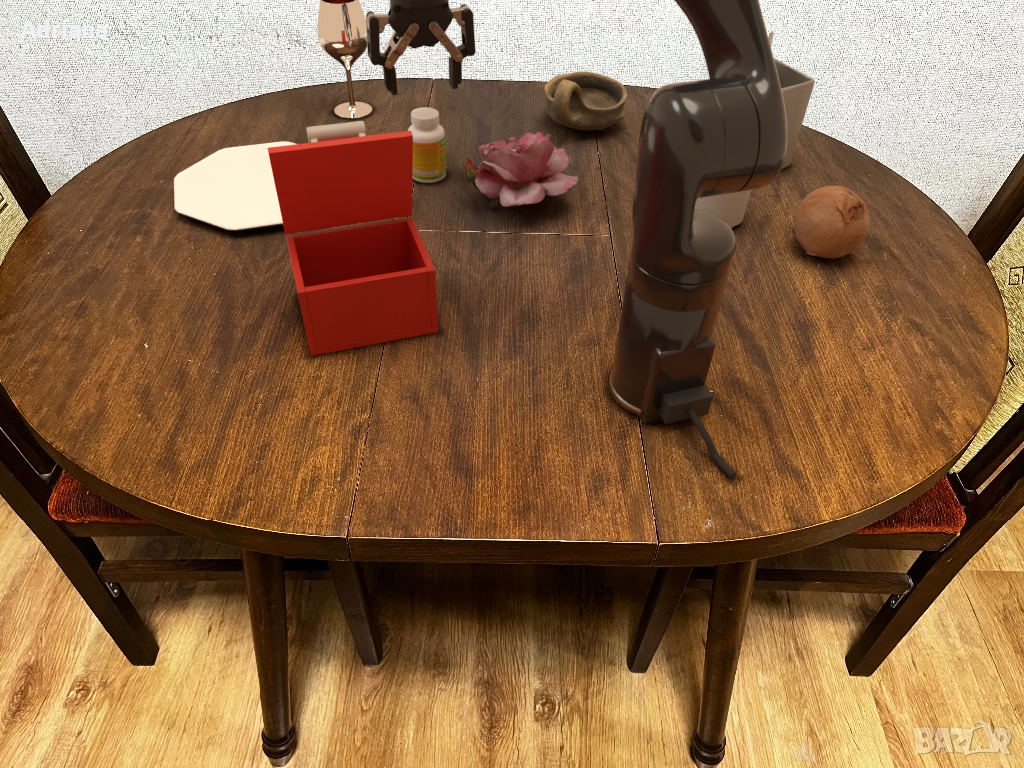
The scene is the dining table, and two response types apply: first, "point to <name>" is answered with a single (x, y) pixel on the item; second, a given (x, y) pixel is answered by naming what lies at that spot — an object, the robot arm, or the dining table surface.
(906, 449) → the dining table surface
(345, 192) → the red box lid
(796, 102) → the planter
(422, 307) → the red box
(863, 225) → the onion
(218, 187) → the plate
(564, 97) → the bowl
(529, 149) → the flower
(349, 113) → the wineglass
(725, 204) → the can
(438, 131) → the supplement bottle
